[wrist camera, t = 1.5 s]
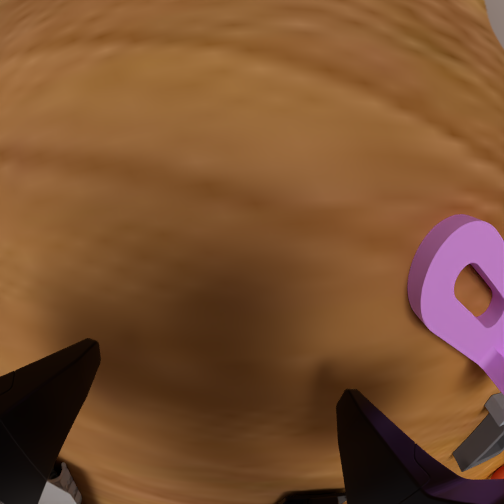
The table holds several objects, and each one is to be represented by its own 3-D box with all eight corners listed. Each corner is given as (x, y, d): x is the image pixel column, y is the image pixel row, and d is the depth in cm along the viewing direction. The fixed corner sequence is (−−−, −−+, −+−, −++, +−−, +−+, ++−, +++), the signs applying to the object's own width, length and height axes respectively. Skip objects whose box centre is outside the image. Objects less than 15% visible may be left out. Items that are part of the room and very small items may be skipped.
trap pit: (490, 438, 18) (499, 453, 15) (452, 453, 17) (461, 472, 15) (529, 391, 15) (541, 405, 13) (498, 401, 15) (512, 420, 12)
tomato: (479, 481, 27) (488, 501, 20) (501, 463, 25) (512, 483, 18) (492, 475, 28) (501, 493, 21) (512, 457, 26) (522, 475, 19)
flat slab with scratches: (-55, 351, 16) (-77, 372, 11) (86, 457, 19) (69, 497, 13) (19, 474, 30) (12, 489, 24) (108, 522, 32) (104, 539, 27)
